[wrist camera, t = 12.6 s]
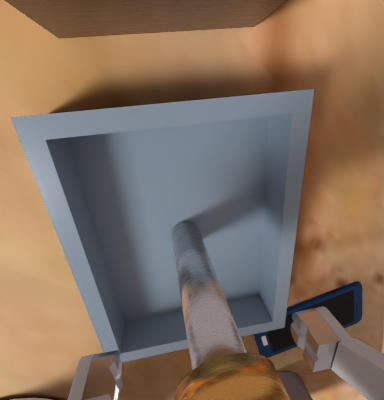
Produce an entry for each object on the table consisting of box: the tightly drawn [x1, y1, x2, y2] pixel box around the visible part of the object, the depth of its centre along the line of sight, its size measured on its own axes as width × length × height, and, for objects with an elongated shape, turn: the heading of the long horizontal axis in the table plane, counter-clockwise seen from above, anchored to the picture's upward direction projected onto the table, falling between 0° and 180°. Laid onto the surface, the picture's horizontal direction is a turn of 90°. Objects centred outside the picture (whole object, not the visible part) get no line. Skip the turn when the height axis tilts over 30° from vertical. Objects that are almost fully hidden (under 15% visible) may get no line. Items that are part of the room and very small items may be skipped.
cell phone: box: [254, 282, 362, 358], centre depth 27 cm, size 7×14×1 cm, turn 109°
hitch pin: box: [171, 221, 290, 400], centre depth 13 cm, size 4×4×12 cm
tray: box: [11, 89, 314, 362], centre depth 17 cm, size 20×16×4 cm
